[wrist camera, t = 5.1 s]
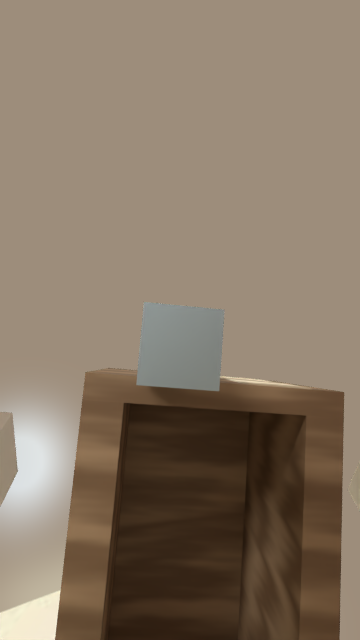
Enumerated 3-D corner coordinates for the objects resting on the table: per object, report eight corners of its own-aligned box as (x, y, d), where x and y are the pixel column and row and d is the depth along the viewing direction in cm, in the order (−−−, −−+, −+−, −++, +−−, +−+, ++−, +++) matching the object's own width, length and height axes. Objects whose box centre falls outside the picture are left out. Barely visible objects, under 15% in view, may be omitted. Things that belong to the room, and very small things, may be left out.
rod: (219, 391, 17) (224, 309, 17) (136, 385, 16) (144, 302, 17) (175, 373, 41) (178, 340, 42) (142, 370, 41) (145, 337, 42)
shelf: (335, 843, 23) (344, 390, 27) (30, 855, 22) (85, 370, 25) (259, 648, 39) (271, 380, 43) (79, 646, 37) (109, 367, 41)
